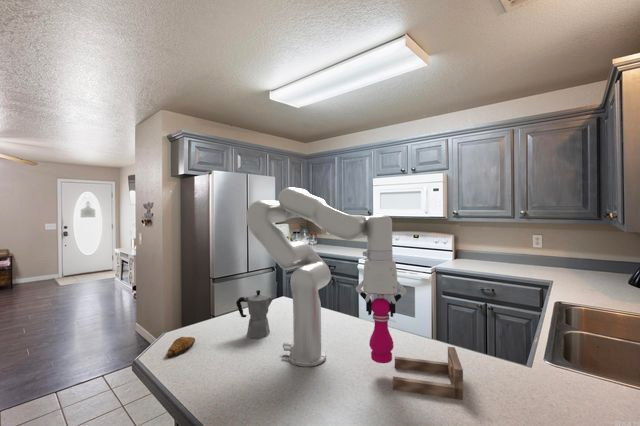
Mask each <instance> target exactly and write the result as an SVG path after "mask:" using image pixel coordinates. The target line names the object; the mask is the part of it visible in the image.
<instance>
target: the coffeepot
mask: <svg viewBox="0 0 640 426" xmlns="http://www.w3.org/2000/svg"><path fill="white" fill-rule="evenodd" d="M255 293H256V294H254V295H250V296H241V297H239V298H238V299H237V300H236V307H237V309H238V312H239V315H240V318H246V317H247V315H248V314H249V320H248V325H247V331H246V335H247V337H249V338H251V339H263V338H265V337H267V336H269V335H270V333H271V331H270V325H269V319H268V317H267V316H268V313H269V308H270V305H271V303H273V300H275V297H274V296H272V295H267V294H261V290H259V289H258V290H256V291H255ZM242 303H247V304H246V305H247V308H248V314H245V313H244V310H243V308H242V307H243V306H242Z"/></svg>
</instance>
